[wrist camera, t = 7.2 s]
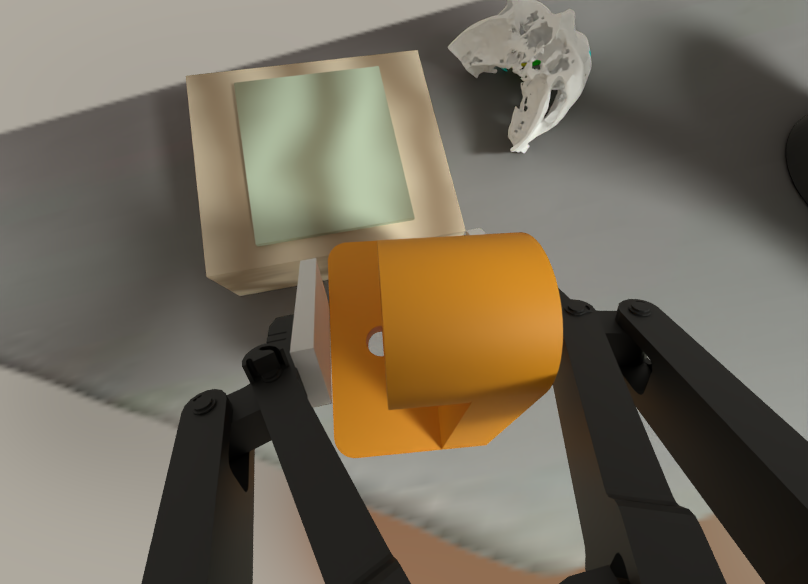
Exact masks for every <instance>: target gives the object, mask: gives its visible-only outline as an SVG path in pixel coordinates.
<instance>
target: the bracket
mask: <svg viewBox="0 0 808 584" xmlns="http://www.w3.org/2000/svg"><path fill="white" fill-rule="evenodd" d="M328 280H329V307H330V335H331V363H332V391H333V418H334V440H335V444H336V446H337V448H338V449H339V451H340V452H341V453H342V454H344V455H345V456H347V457H351V458H361V457H371V456H381V455H391V454H401V453H412V452H422V451H432V450H442V449H452V448H462V447H472V446H482V445H487V444H488V443H489V442H490V441H491V440H492V439H494V438H495V437H496V436H497V435H498V434H499V433H501V432H502V431H503V430H504V429H505V428H506V427H507V426H509V425H510V424H511V423H512V422H513V421H514V420H515V419H517V418H518V417H519V416H520V415H521V414H522V413H523V412H525V411H526V410H527V409H528V408H529V407H530V406H531V405H533V404H534V403H535V402H536V401H537V400H538V399H540V398H541V397H542V396H543V395H544V394H545V393H546V392H547V391H548V390H549V389H550V388H551V386H552V385H553V383H554V381H555V378H556V376H557V373H558V370H559V365H560V361H561V355H562V345H563V318H562V308H561V301H560V295H559V290H558V286H557V282H556V278H555V275H554V272H553V269H552V266H551V264H550V261H549V259H548V257H547V255H546V253H545V251H544V250H543V248H542V247H541V245H540V244H539V243H538V242H537V240H536V239H534V238H533V237H532V236H531V235H529V234H527V233H522V232H519V233H501V234H482V235H464V236H446V237H427V238H409V239H391V240H377V241H361V242H345V243H341V244H339V245H337V246H335V247H334V248H333V249H332V250H331V252H330V254H329V257H328ZM377 332H382V334H383V348H384V356H376V355H374V354H372V353H371V352H370V351H369V348H368V342H369V339H370V338H371V336H372V335H373V334H375V333H377Z"/></svg>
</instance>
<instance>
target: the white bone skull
mask: <svg viewBox="0 0 808 584" xmlns="http://www.w3.org/2000/svg"><path fill="white" fill-rule="evenodd" d="M520 24H522V27H523V29H524V31H525V32H526V33H524V34H523V35H522V36H521V35H520ZM513 32H514V33H513ZM525 37H526V38H527V39H524V38H525ZM527 40H528V42H527ZM526 42H527V44H526ZM448 49H449V50H450V51H451V52H452V53H453V54H454V55H455V56H456V57H457V58H458V59H459V60H460V61H461V63H462V64H463V66H464V67H465V69H466V70H467V71H468V72H469V73H470V74H472V75H473V76H475V77H476V78H478V75H479V74H480V73H482V72H488V73H497V69H493V68H494V67H495V66H498V67H500V68H501V69H503V70H504V71H506V72H507V69H510V68H513V70H512V71H513V72H514V73H516V74H518V75H519V76H521V78H520V79H522V80H523V81H524V83H523V82H522V83H523V85H522V83H521V90H522V95H523V99H522V102H521V103H520V108H519V109H518V108H517V106H515V109H514V112H513V115H512V120H511V124H510V126H509V129H508V138H509V139H510V141H511V142H512V144H513V147H512V148H511V149H510V150H511V152H514V151H516V152H518V153H519V152H523V153H525V152H526V151H527V149H528V148H529V145H528V143H529V142H530V141H532V140H533V139H534V138H535V137H537V136H539V135H541V134H542V133H544V132H547V131H548V130H550V129H551V128H552V127H554V126H556V125H557V124H558V123H559V121H560V120H561V119H562V118H563V117H564V116H565V115H566V113H567V112H568V110H569V109H570V107H571V106H572V105H573V104H574V103H575V102H576V101H577V99H578V98H579V97H580V95H581V93H582V91H583V89H584V87H585V84H586V81H587V78H588V76H589V73H590V70H591V65H592V62H591V57H590V56H591V52H590V47H589V45H588V39H587V38H586V36H585V35H584V34H583V33H581V32H578V31H576V30H575V12H574V11H573V10H572V9H568V10H567V11H565V12H562V13H558V14H553V13H551V12H550V10H549V9H548V8H547V7H546V6H544V5H543V4H542V3H540V2H538V1H536V0H507V5H506V6H505V8H504V9H503V10H502V11H501V12H500V13H499V14H498V15H496V16H492V17H489V18H486V19H483V20H481V21H479V22H477V23H475V24H473V25H471V26H470V27H468V28H467V29H466V30H464V31H463V32H462V33H461V34H460V35H459V36H458V37H457V38H456V39H454V40H453V41H452V42H451V44H450V45H449V46H448ZM512 50H514V51H516V52H515V53H514V54H513V53H512ZM514 51H513V52H514ZM536 65H540V66H539V67H540V70H538V69H535V70H534V69H532V66H536ZM523 66H525V67H524V69H521V68H523ZM520 69H521V70H520ZM550 71H551V72H550ZM549 72H550V73H549ZM525 76H527V78H525ZM551 90H558V93H557V95H556V97H555V100H554V102H553V104H552V106H551V108H550V111H549V112H548V114H547V115H546V117H545V118H544V115H545V114H546V112H547V110H548V107H549V105H548V104H549V101H550V94H551ZM530 94H531V95H530ZM526 97H527V103H526V104H525V103H524V102H525V98H526ZM525 105H526V106H527V107H528V109H527V110H526V112H525V111H524V107H525Z"/></svg>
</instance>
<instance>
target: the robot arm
mask: <svg viewBox="0 0 808 584" xmlns="http://www.w3.org/2000/svg"><path fill="white" fill-rule="evenodd" d="M786 155H787V163H788V168H789V171H790V174H791V177H792V180H793V182H794V184H795V186H796V188H797V189H798V191H799V193H800V194H801V196H802V197H803V199H804V200H805V201H806V202H807V204H808V115H806V116H805V117H803V118H802V119H801V120H800V121H799V122H797V124H796V125H795V126H794V128H793V129H792V131H791V133H790V135H789V138H788V142H787V151H786ZM482 234H486V233H485V232H484V231H483V230H482V229H481V228H477V229H471V230H466V235H482ZM558 290H559V295H560V301H561V308H562V318H563V345H562V355H561V361H560V365H559V370H558V373H557V376H556V378H555V381H554V383H553V388H554V393H555V398H556V403H557V408H558V413H559V418H560V423H561V428H562V433H563V438H564V443H565V448H566V453H567V458H568V463H569V468H570V473H571V478H572V483H573V489H574V494H575V499H576V504H577V509H578V514H579V519H580V524H581V529H582V534H583V539H584V545H585V554H586V558H585V570H586V572H582V573H579V574H576V575H572V576H569V577H567V578H566V579H565V580H563V581H562V582H561V583H559V584H726V581H725V579H724V577H723V575H722V572H721V570H720V568H719V566H718V563H717V561H716V559H715V557H714V555H713V552H712V550H711V548H710V546H709V543H708V541H707V539H706V537H705V534H704V532H703V530H702V528H701V526H700V524H699V522H698V520H697V519H696V517H695V515H694V514H693V513H692V512H691V511H690V510H689V509H687V508H684V507H681V506H679V505H678V504H677V503H676V501H675V499H674V497H673V495H672V493H671V491H670V488H669V486H668V483H667V481H666V479H665V476H664V474H663V471H662V469H661V467H660V464H659V462H658V459H657V457H656V455H655V452H654V450H653V447H652V445H651V442H650V440H649V438H648V435H647V433H646V430H645V428H644V426H643V423H642V421H641V418H640V416H639V414H638V411H637V409H638V410H639V412H640V413H641V414H642V416H643V417H644V418H645V420H646V421H647V423H648V424H649V425H650V427H651V428H652V429H653V431H654V432H655V433H656V435H657V436H658V438H659V439H660V440H661V442H662V443H663V444H664V446H665V447H666V448H667V450H668V451H669V453H670V454H671V455H672V457H673V458H674V459H675V461H676V462H677V464H678V465H679V466H680V468H681V469H682V470H683V472H684V473H685V474H686V476H687V477H688V479H689V480H690V481H691V483H692V484H693V485H694V487H695V488H696V489H697V491H698V492H699V494H700V495H701V496H702V498H703V499H704V500H705V502H706V503H707V505H708V506H709V507H710V509H711V510H712V511H713V513H714V514H715V515H716V517H717V518H718V520H719V521H720V522H721V524H722V525H723V526H724V528H725V529H726V530H727V532H728V533H729V535H730V536H731V537H732V539H733V540H734V541H735V543H736V544H737V546H738V547H739V548H740V550H741V551H742V552H743V554H744V555H745V556H746V558H747V559H748V560H749V562H750V563H751V565H752V566H753V567H754V569H755V570H756V571H757V573H758V574H759V576H760V577H761V578H762V580H763V581H764V582H765V584H808V441H807V440H805V439H804V438H803V437H802V436H801V435H800V434H799V433H798V432H797V431H795V430H794V429H793V428H792V427H791V426H790V425H789V424H788V423H787V422H785V421H784V420H783V419H782V418H781V417H780V416H779V415H778V414H776V413H775V412H774V411H773V410H772V409H771V408H770V407H769V406H768V405H766V404H765V403H764V402H763V401H762V400H761V399H760V398H759V397H758V396H756V395H755V394H754V393H753V392H752V391H751V390H750V389H749V388H747V387H746V386H745V385H744V384H743V383H742V382H741V381H740V380H739V379H737V378H736V377H735V376H734V375H733V374H732V373H731V372H730V371H729V370H727V369H726V368H725V367H724V366H723V365H722V364H721V363H720V362H718V361H717V360H716V359H715V358H714V357H713V356H712V355H711V354H710V353H708V352H707V351H706V350H705V349H704V348H703V347H702V346H701V345H700V344H698V343H697V342H696V341H695V340H694V339H693V338H692V337H691V336H689V335H688V334H687V333H686V332H685V331H684V330H683V329H682V328H681V327H679V326H678V325H677V324H676V323H675V322H674V321H673V320H672V319H671V318H669V317H668V316H667V315H666V314H665V313H664V312H663V311H662V310H660V309H659V308H658V307H657V306H655V305H654V304H652V303H649V302H647V301H644V300H638V299H628V300H624V301H622V302H621V303H619V306H618V309H617V311H596V310H595V309H594V308H593V306H591V305H590V304H588V303H586V302H583V301H580V300H573V299H570V298H568V297H567V296H566V295H565V294H564V293H563V292H562V291H561V290H560V289H559V288H558ZM647 356H648V357H649V359H650V360H649V359H648V358H647ZM242 367H243V369H244V371H245V373H246V375H247V377H248V379H249V381H250V384H249V385H247V386H246V387H244V388H242V389H240V390H238V391H235V392H233V393H231V394H229V395H226V393H224V392H223V391H222V390H218V389H212V390H207V391H205V392H202V393H200V394H198V395H196V396H195V397H194V398H192V399H191V400H190V401H189V402H188V403H187V404H186V405H185V407H184V409H183V411H182V413H181V417H180V422H179V426H178V430H177V435H176V439H175V443H174V447H173V452H172V456H171V460H170V464H169V469H168V473H167V477H166V481H165V486H164V490H163V494H162V499H161V503H160V507H159V511H158V515H157V520H156V524H155V528H154V533H153V537H152V542H151V545H150V550H149V554H148V558H147V562H146V567H145V571H144V575H143V580H142V584H252V582H253V581H252V580H253V577H252V576H253V520H254V519H253V518H254V516H253V515H254V456H255V448H257V447H259V446H261V445H263V444H265V443H267V442H269V441H271V440H272V442H273V445H274V447H275V450H276V453H277V455H278V458H279V461H280V464H281V466H282V469H283V472H284V474H285V477H286V480H287V482H288V485H289V488H290V490H291V493H292V495H293V498H294V501H295V504H296V507H297V509H298V512H299V515H300V517H301V520H302V523H303V525H304V528H305V531H306V533H307V536H308V539H309V541H310V544H311V547H312V550H313V552H314V555H315V558H316V560H317V563H318V566H319V568H320V571H321V574H322V576H323V579H324V582H325V584H411V583H410V581H409V580H408V578H407V576H406V574H405V572H404V571H403V569H402V567H401V566H400V564H399V562H398V561H397V559H395V558H394V557H393V555H392V554H391V552H390V550H389V548H388V547H387V545H386V543H385V541H384V539H383V537H382V536H381V534H380V532H379V530H378V528H377V526H376V525H375V523H374V521H373V519H372V517H371V515H370V513H369V511H368V510H367V508H366V506H365V504H364V502H363V500H362V498H361V497H360V495H359V493H358V491H357V489H356V487H355V485H354V484H353V482H352V480H351V478H350V476H349V474H348V472H347V471H346V469H345V467H344V465H343V463H342V461H341V459H340V458H339V456H338V454H337V452H336V450H335V448H334V446H333V445H332V443H331V441H330V439H329V437H328V435H327V434H326V432H325V430H324V428H323V426H322V424H321V422H320V421H319V419H318V417H317V415H316V413H315V411H314V409H313V407H318V406H322V405H327V404H331V403H332V395H331V360H330V325H329V303H328V299H327V295H326V292H325V288H324V285H323V281H322V277H321V274H320V270H319V266H318V263H317V259H316V258H313V259H307V260H302V261H300V267H299V276H298V285H297V294H296V302H295V311H294V315H289V316H284V317H279V318H276V319H275V320H274V322H273V323H272V324H271V325H270V327H269V332H268V337H267V344H263V345H260V346H258V347H256V348H254V349H252V350H251V351H250V352H248V353H247V354H246V355H245V357H244V359H243V360H242ZM636 407H637V409H636Z"/></svg>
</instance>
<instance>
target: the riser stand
mask: <svg viewBox="0 0 808 584" xmlns="http://www.w3.org/2000/svg"><path fill="white" fill-rule="evenodd" d="M186 83H187V93H188V102H189V112H190V122H191V132H192V141H193V151H194V161H195V170H196V180H197V190H198V200H199V209H200V219H201V229H202V238H203V248H204V258H205V267H206V277H208V278H209V279H211V280H213V281H215V282H216V283H218V284H220V285H222V286H223V287H225V288H227V289H228V290H230V291H232V292H234V293H235V294H237V295H239V296H244V295H249V294H254V293H260V292H265V291H271V290H276V289H281V288H287V287H292V286H297V285H298V276H299V267H300V261H302V260H307V259H313V258H316V259H317V263H318V266H319V270H320V274H321V277H322V281H325V280H328V257H329V254H330V252H331V250H332V249H333V248H334V247H335V246H337V245H339V244H341V243H345V242H361V241H377V240H391V239H409V238H427V237H446V236H463V234H464V233H465V231H466V230H465V227H464V223H463V219H462V215H461V212H460V208H459V204H458V200H457V197H456V193H455V189H454V185H453V182H452V178H451V174H450V170H449V167H448V163H447V159H446V156H445V152H444V148H443V144H442V141H441V137H440V133H439V129H438V126H437V122H436V118H435V114H434V111H433V107H432V103H431V99H430V96H429V92H428V88H427V84H426V81H425V77H424V73H423V69H422V66H421V62H420V58H419V54H418V51H417V50H413V51H404V52H395V53H386V54H377V55H368V56H359V57H350V58H341V59H333V60H324V61H315V62H306V63H297V64H288V65H279V66H270V67H261V68H252V69H243V70H234V71H225V72H216V73H207V74H199V75H190V76H186Z"/></svg>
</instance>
